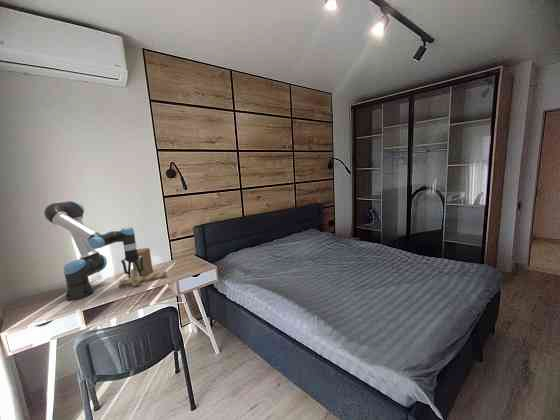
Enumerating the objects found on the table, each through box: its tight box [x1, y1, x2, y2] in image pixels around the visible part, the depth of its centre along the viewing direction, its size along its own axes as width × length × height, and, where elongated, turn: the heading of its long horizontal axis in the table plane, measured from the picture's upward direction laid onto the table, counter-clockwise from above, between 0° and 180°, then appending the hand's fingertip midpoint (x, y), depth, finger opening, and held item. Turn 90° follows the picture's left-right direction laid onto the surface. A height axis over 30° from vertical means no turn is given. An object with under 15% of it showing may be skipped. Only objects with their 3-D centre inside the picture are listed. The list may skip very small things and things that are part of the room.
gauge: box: [130, 268, 141, 286], centre depth 183 cm, size 4×12×11 cm, turn 24°
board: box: [118, 271, 168, 289], centre depth 190 cm, size 31×9×2 cm, turn 115°
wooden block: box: [131, 248, 154, 277], centre depth 204 cm, size 10×10×20 cm
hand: (136, 281), depth 180 cm, fingers closed on gauge, 4 cm apart
